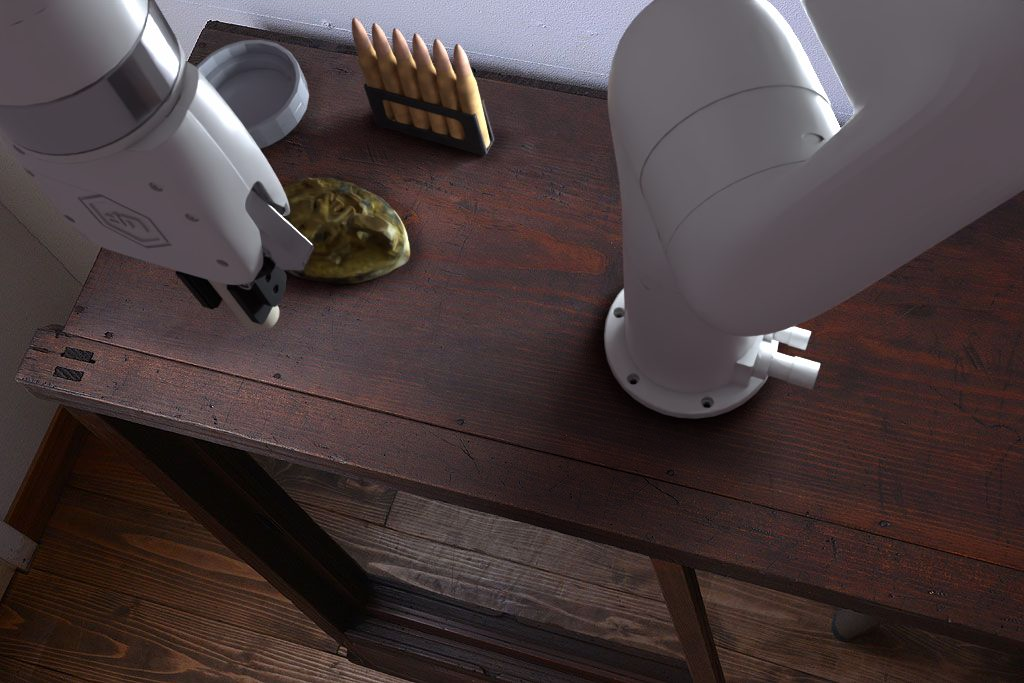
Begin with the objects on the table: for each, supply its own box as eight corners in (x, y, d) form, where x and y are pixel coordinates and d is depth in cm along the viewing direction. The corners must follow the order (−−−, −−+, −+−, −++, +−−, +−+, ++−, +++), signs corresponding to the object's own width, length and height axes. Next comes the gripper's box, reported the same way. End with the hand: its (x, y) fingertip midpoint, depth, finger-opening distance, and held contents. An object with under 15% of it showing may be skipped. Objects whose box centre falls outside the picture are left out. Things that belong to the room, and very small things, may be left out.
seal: (232, 262, 81) (392, 308, 77) (207, 238, 77) (375, 285, 73) (277, 167, 84) (434, 207, 80) (255, 138, 80) (419, 178, 76)
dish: (329, 77, 88) (320, 53, 85) (276, 167, 84) (264, 146, 81) (232, 52, 91) (220, 29, 88) (176, 139, 87) (162, 117, 84)
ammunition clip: (495, 139, 83) (473, 38, 72) (486, 156, 82) (463, 56, 71) (385, 108, 85) (348, 6, 75) (375, 124, 85) (337, 24, 74)
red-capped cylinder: (287, 304, 56) (236, 228, 49) (269, 338, 55) (215, 266, 48) (252, 293, 56) (197, 217, 49) (234, 327, 55) (175, 255, 48)
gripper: (-144, 93, 38) (92, 313, 54) (209, 188, 34) (348, 394, 50) (-36, -44, 41) (157, 204, 57) (302, 28, 37) (405, 273, 53)
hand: (245, 292), depth 53 cm, fingers closed on red-capped cylinder, 2 cm apart
